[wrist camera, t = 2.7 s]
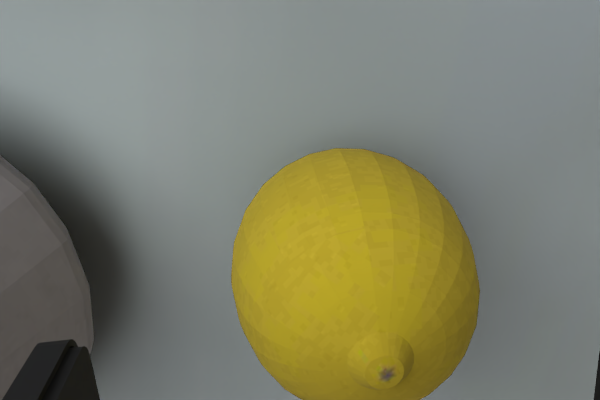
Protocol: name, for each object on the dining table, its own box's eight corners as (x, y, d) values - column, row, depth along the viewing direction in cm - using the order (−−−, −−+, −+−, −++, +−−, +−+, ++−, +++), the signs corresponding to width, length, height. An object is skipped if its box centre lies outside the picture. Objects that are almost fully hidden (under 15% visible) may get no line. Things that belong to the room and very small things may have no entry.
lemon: (340, 320, 19) (398, 541, 11) (200, 225, 17) (156, 406, 10) (456, 192, 17) (609, 343, 10) (315, 78, 16) (369, 154, 8)
